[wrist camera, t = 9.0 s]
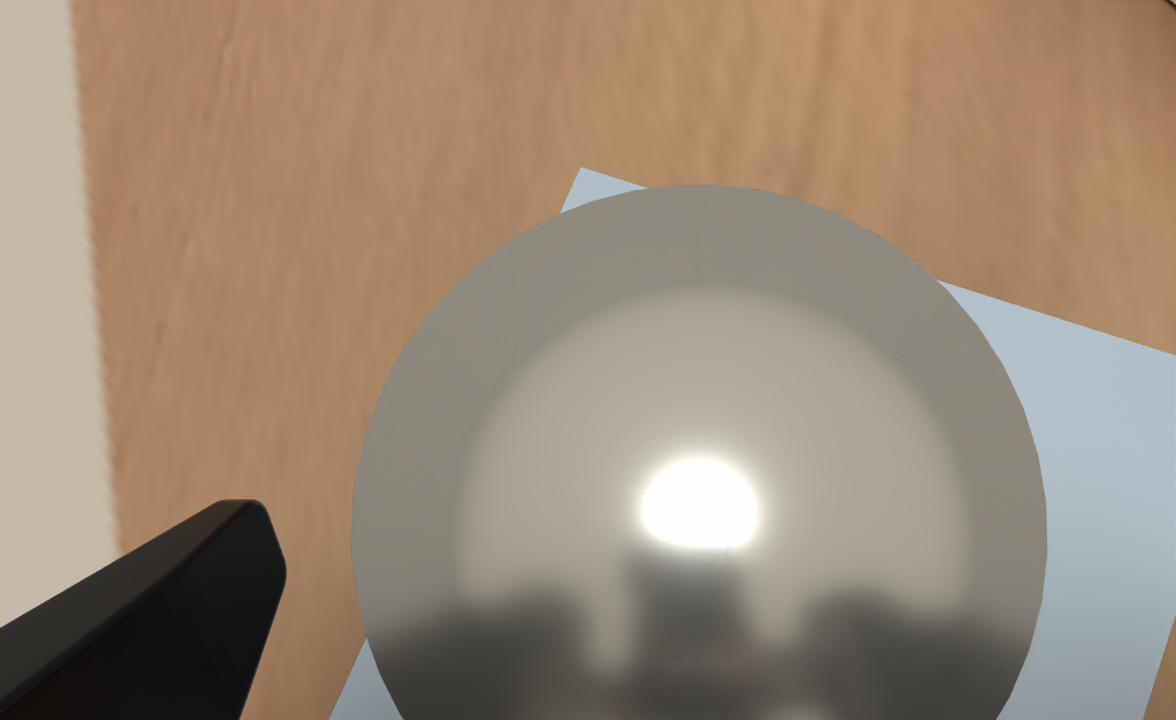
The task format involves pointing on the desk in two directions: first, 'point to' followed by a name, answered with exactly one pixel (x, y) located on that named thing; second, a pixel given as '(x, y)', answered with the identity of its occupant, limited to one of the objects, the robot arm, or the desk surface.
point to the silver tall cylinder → (699, 479)
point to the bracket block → (1073, 505)
